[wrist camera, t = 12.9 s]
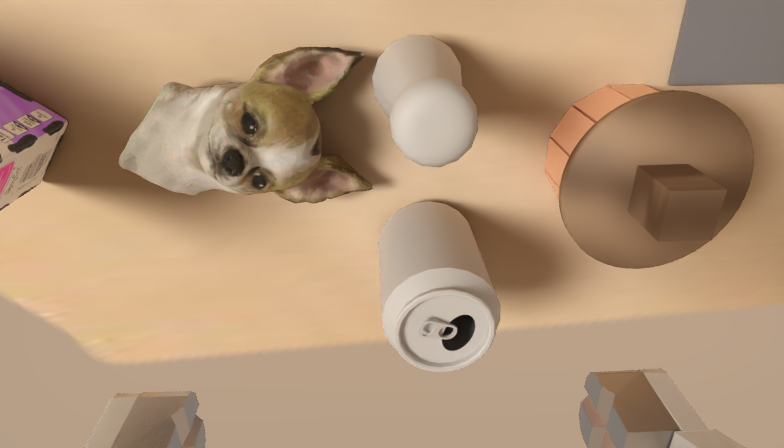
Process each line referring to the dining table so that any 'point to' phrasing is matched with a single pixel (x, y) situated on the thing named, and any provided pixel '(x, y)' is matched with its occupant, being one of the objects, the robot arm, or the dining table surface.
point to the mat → (730, 43)
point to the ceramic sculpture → (248, 132)
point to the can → (435, 288)
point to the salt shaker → (425, 100)
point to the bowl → (584, 124)
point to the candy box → (25, 143)
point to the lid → (655, 179)
